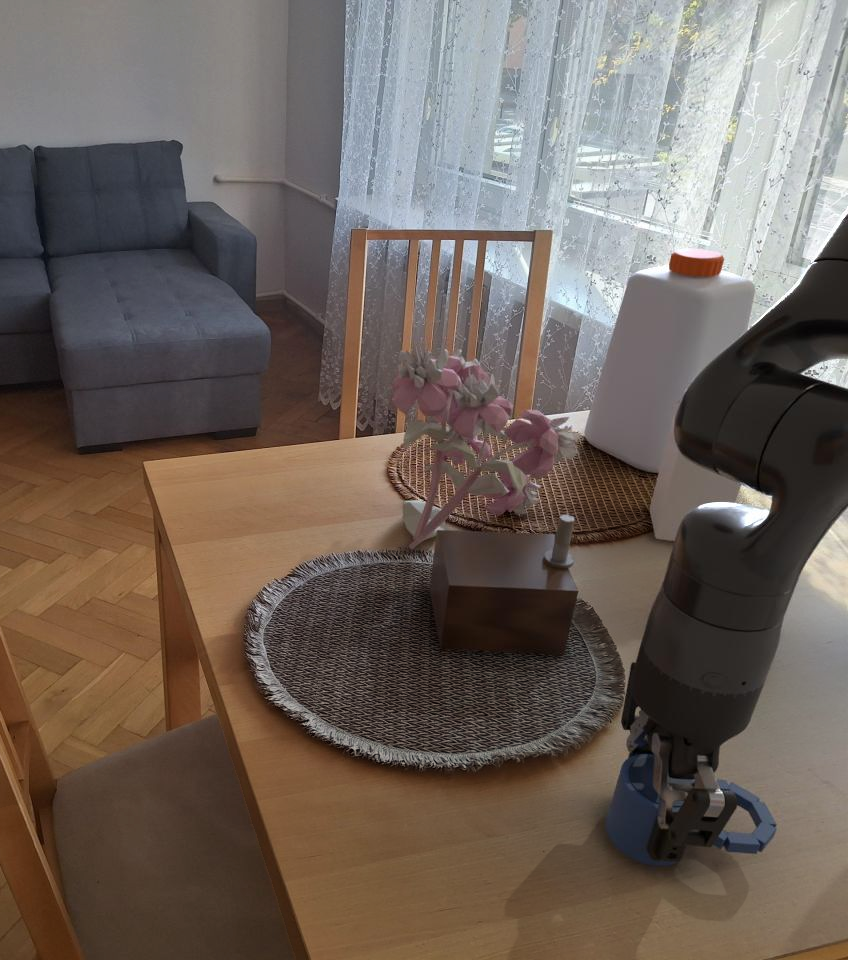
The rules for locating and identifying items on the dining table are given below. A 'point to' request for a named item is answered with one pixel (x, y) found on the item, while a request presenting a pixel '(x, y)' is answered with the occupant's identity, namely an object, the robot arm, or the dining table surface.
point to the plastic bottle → (663, 351)
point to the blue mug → (639, 811)
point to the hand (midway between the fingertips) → (648, 821)
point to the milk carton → (684, 489)
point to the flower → (472, 437)
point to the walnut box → (504, 590)
